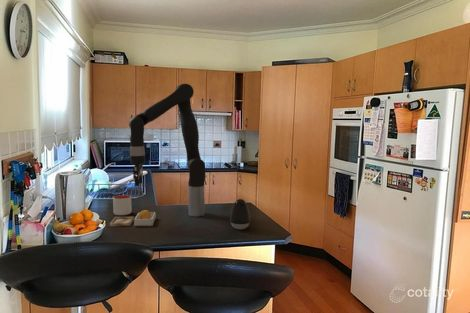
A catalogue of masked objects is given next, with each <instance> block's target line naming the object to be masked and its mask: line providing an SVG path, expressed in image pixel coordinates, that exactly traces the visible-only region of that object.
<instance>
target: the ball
mask: <svg viewBox="0 0 470 313" xmlns="http://www.w3.org/2000/svg"><path fill="white" fill-rule="evenodd" d="M140 212H141V213H140V215H139V217H140V219H150V218H151V213H150V212H151V211H149V210H147V209H144V210H141V211H140Z"/></svg>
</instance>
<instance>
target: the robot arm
mask: <svg viewBox="0 0 470 313" xmlns="http://www.w3.org/2000/svg"><path fill="white" fill-rule="evenodd" d="M193 96H194V88H193V86H192V85H190V84H188V83H181V84H179V85H177V86H176V87H175V89H174V91H173V92H172V93H171V94H170V95H168V96H166V97H165V98H162V99H161V100H159V101H157V102H155V103H154V104H152V105H150V106H149V107H147V108H145V110H143V111H142V112H140V113H138V114H137V115H135V116H133V117H131V118H130V120H129V122H128V126H129V129H130V137H129V138H130V139H129V145H130V148H129V156H130V158H129V159H130V164H131V165H134V166H133V167H132V173H133V174H132V177H133V179H134V186H135V187H139V186H140V184H142V183H143V175H144V167H143V164H145V163H146V152H145V151H146V150H145V139H144V133H145V126H146V125H148V124H149V123H152V122H153V121H155V120H157V119H158V118H159V117H161V116H162V115H164V114H165V113H167V112H168V111H170V110H171V109H172V108H174V107H175V106H177V107H178V113H179V121H180V122H179V123H180V129H181V134H182V140H183V142H184V147H185V152H186V162H187V164H186V165H187V170H188V171H189V173H188V182H187V184H188V186H187V187H188V188H187V189H188V192H187V193H188V194H187V195H188V196H187V197H188V199H187V200H188V201H187V202H188V206H187V207H188V216H189V217H202V216H203V217H204V216H205V213H206V212H205V208H206V207H205V204H206V203H205V200H206V199H205V182H206V163H205V161H204V160H203V159H202V158H201V153H200V149H199V140H200V138H199V137H200V136H199V135H200V134H199V127H198V122H197V119H196V116H195V114H194V113H193V110H192V104H191V98H192V97H193Z"/></svg>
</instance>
